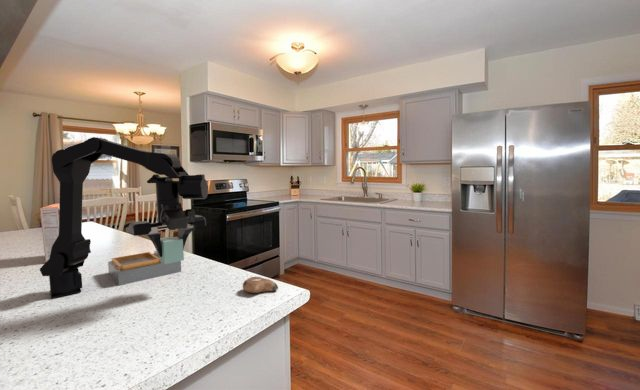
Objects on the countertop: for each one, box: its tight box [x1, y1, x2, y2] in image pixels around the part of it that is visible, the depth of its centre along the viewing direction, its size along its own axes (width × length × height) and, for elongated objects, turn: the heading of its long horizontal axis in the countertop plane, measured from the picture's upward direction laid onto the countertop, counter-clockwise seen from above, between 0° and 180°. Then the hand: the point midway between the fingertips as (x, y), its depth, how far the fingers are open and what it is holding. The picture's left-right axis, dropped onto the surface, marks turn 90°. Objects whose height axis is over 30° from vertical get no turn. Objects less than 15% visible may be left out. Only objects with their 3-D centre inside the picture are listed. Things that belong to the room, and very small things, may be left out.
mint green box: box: [159, 236, 185, 264], centre depth 88 cm, size 5×7×6 cm
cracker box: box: [39, 203, 59, 264], centre depth 121 cm, size 14×6×21 cm, turn 25°
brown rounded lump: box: [242, 276, 279, 294], centre depth 87 cm, size 9×4×8 cm
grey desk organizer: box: [107, 250, 182, 286], centre depth 104 cm, size 18×15×5 cm
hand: (171, 254), depth 87 cm, fingers closed on mint green box, 5 cm apart
